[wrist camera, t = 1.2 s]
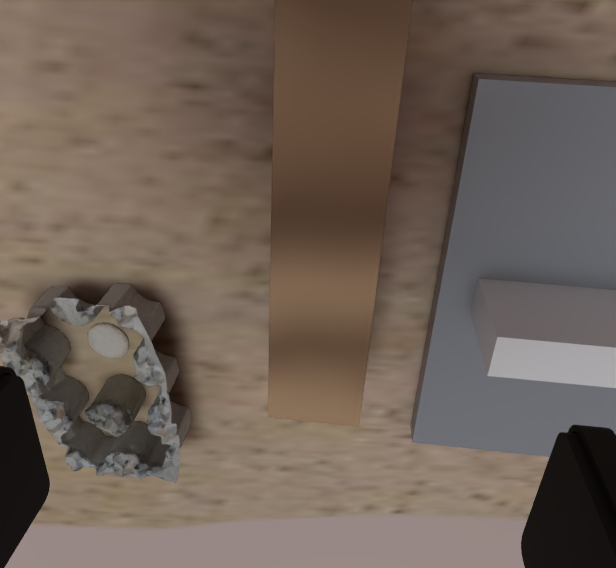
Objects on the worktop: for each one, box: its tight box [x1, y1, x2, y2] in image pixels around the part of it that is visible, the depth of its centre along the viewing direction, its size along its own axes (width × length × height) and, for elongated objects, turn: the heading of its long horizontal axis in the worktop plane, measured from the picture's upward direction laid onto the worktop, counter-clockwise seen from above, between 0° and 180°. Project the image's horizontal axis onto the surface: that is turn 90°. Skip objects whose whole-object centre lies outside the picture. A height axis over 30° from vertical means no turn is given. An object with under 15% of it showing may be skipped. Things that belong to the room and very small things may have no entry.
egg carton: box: [0, 283, 192, 483], centre depth 29 cm, size 11×8×4 cm
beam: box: [268, 0, 413, 427], centre depth 22 cm, size 20×4×5 cm, turn 177°
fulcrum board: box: [411, 73, 616, 457], centre depth 23 cm, size 18×12×6 cm, turn 177°
